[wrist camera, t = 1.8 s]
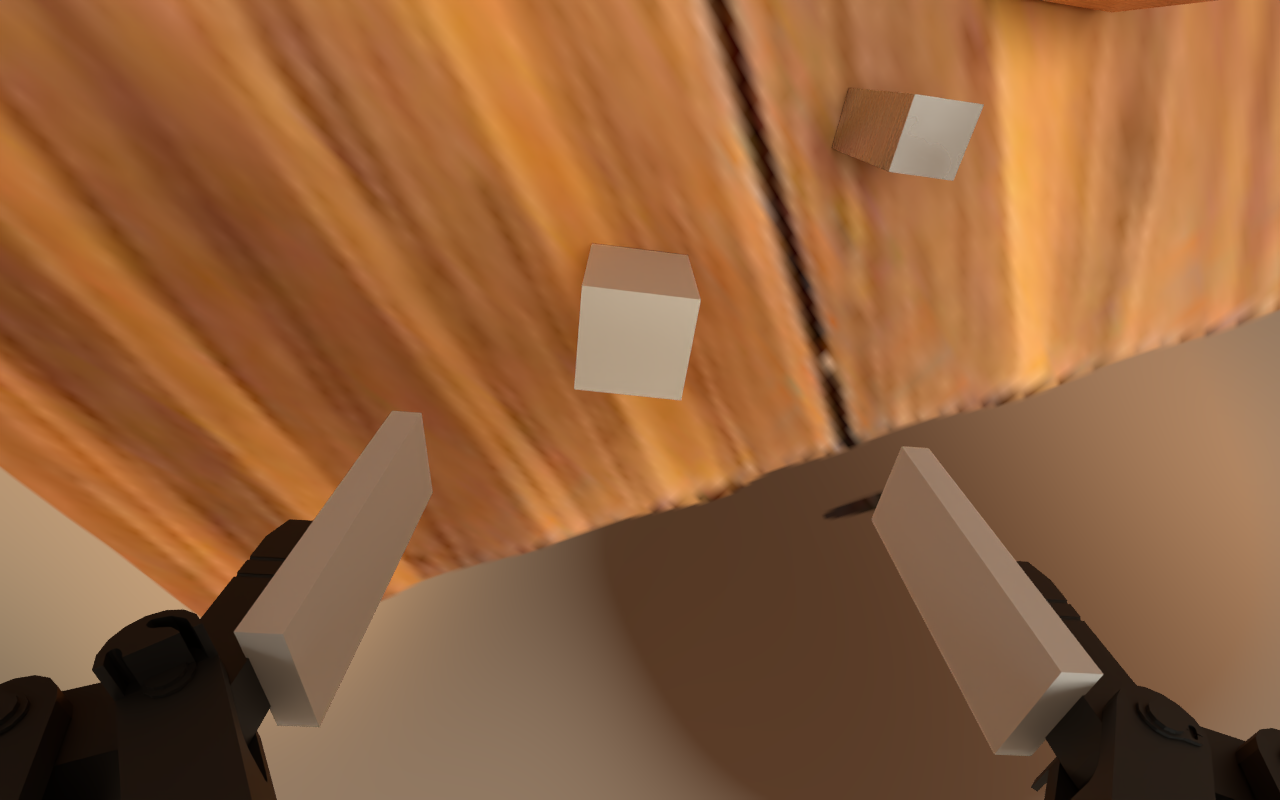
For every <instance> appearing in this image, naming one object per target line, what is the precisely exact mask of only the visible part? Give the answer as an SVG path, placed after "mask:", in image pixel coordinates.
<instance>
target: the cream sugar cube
mask: <svg viewBox="0 0 1280 800" xmlns="http://www.w3.org/2000/svg"><path fill="white" fill-rule="evenodd" d="M700 301H701V299H700V295H699V292H698V288H697V285H696V281H695V278H694V274H693V271H692V267H691V264H690V261H689V257H688V255H682V254H674V253H666V252H658V251H650V250H642V249H634V248H626V247H618V246H610V245H602V244H594V243H592V245H591V249H590V254H589V258H588V262H587V266H586V271H585V275H584V279H583V283H582V291H581V305H580V318H579V331H578V345H577V358H576V371H575V385H574V389H577V390H587V391H596V392H606V393H615V394H625V395H635V396H644V397H654V398H663V399H673V400H681V398H682V393H683V388H684V383H685V378H686V373H687V368H688V363H689V357H690V352H691V347H692V342H693V337H694V332H695V327H696V322H697V317H698V311H699V306H700Z"/></svg>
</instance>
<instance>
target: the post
mask: <svg viewBox="0 0 1280 800" xmlns="http://www.w3.org/2000/svg"><path fill="white" fill-rule="evenodd" d="M983 106H984V105H983V104H977V103H970V102H964V101H957V100H950V99H944V98H937V97H931V96H924V95H917V94H908V93H898V92H888V91H877V90H867V89H856V88H849V89H848V93H847V96H846V100H845V103H844V107H843V110H842V114H841V117H840V121H839V124H838V128H837V131H836V135H835V138H834V142H833V145H832V149H835V150H837V151H840V152H842V153H844V154H847V155H849V156H852V157H854V158H857V159H859V160H862V161H864V162H866V163H869V164H871V165H874V166H876V167H879V168H881V169H883V170H886V171H888V172H895V173H902V174H909V175H916V176H923V177H931V178H938V179H945V180H952V181H953V180H954V178H955V175H956V173H957V170H958V168H959V165H960V163H961V160H962V158H963V155H964V153H965V150H966V148H967V145H968V143H969V140H970V138H971V135H972V133H973V130H974V128H975V125H976V123H977V120H978V118H979V115H980V113H981V111H982V108H983Z"/></svg>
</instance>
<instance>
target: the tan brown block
mask: <svg viewBox="0 0 1280 800" xmlns="http://www.w3.org/2000/svg"><path fill="white" fill-rule="evenodd" d="M1042 1H1048V2H1054V3H1060V4H1066V5H1072V6H1078V7H1084V8H1089V9H1095V10H1101V11H1107V12H1119V11H1128V10H1137V9H1146V8H1154V7H1163V6H1172V5H1181V4H1189V3H1198V2H1207V1H1216V0H1042Z"/></svg>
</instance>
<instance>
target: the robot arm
mask: <svg viewBox="0 0 1280 800" xmlns="http://www.w3.org/2000/svg"><path fill="white" fill-rule="evenodd" d="M432 493H433V491H432V484H431V477H430V470H429V463H428V455H427V448H426V441H425V434H424V427H423V420H422V413H417V412H402V411H392V412H391V413H390V414H389V416H388V417H387V419H386V420H385V421H384V423H383V424H382V426H381V427H380V428H379V430H378V431H377V433H376V434H375V435H374V437H373V438H372V440H371V441H370V442H369V444H368V445H367V447H366V448H365V449H364V451H363V452H362V453H361V455H360V456H359V458H358V459H357V460H356V462H355V463H354V465H353V466H352V467H351V469H350V470H349V472H348V473H347V474H346V476H345V477H344V479H343V480H342V481H341V483H340V484H339V486H338V487H337V488H336V490H335V491H334V493H333V494H332V495H331V497H330V498H329V500H328V501H327V502H326V504H325V505H324V507H323V508H322V509H321V511H320V512H319V514H318V515H317V516H316V518H315V519H314V521H308V520H291V519H290V520H288V521H287V522H285V523H284V524H282V525H281V526H280V527H278V528H277V529H275V530H274V531H273V532H271V533H270V534H268V535H267V536H266V537H265V538H264V539H263V541H262V542H261V543H260V545H259V546H258V547H257V548H256V550H255V551H254V552H253V553H252V555H251V556H250V560H247V561H246V562H245V563H244V565H243V566H242V567H241V568H240V570H239V571H238V572H237V576H236V577H233V579H232V580H231V581H230V582H229V584H228V585H227V586H226V587H225V589H224V590H223V591H222V592H221V594H220V595H219V596H218V597H217V599H216V600H215V601H214V602H213V604H212V605H211V606H210V607H209V609H208V610H207V611H206V613H205V614H204V615H203V616H202V618H201V619H199V617H198V616H197V614H195V613H192V612H189V611H186V610H166V611H162V612H159V613H155V614H152V615H148V616H145V617H143V618H141V619H139V620H137V621H135V622H133V623H132V624H130V625H128V626H126V627H124V628H123V629H122V630H121V631H119V632H118V633H117V634H115V635H114V636H113V637H112V638H110V639H109V640H108V641H107V642H106V644H105V645H104V646H103V647H102V649H101V650H100V651H99V653H98V654H97V655H96V658H95V661H94V665H93V668H92V671H93V672H94V673H95V675H96V676H97V678H98V679H99V680H100V681H101V683H98V684H92V685H89V686H84V687H79V688H75V689H70V690H66V691H61V690H60V689H59V687H58V686H57V685H56V684H55V683H54V682H53V681H52V680H51V678H48V677H41V676H36V675H34V676H28V677H21V678H15V679H12V680H10V681H7V682H5V683H2V684H0V800H277V799H276V795H275V791H274V787H273V784H272V779H271V776H270V772H269V768H268V764H267V760H266V757H265V753H264V749H263V745H262V741H261V738H260V736H259V734H258V732H257V729H258V728H259V726H260V724H261V723H262V721H263V719H264V717H265V716H266V714H267V712H268V710H269V709H270V711H271V713H272V715H273V717H274V719H275V721H276V723H277V725H278V726H279V725H280V726H302V727H320V725H321V723H322V721H323V719H324V717H325V715H326V712H327V711H328V709H329V707H330V704H331V702H332V700H333V698H334V696H335V694H336V692H337V690H338V688H339V686H340V683H341V682H342V680H343V677H344V675H345V673H346V671H347V669H348V667H349V665H350V663H351V661H352V659H353V657H354V655H355V652H356V650H357V648H358V646H359V644H360V642H361V640H362V638H363V636H364V634H365V632H366V630H367V628H368V625H369V623H370V621H371V619H372V617H373V615H374V613H375V611H376V609H377V607H378V605H379V603H380V601H381V599H382V597H383V594H384V592H385V590H386V588H387V586H388V584H389V582H390V580H391V578H392V576H393V574H394V572H395V570H396V567H397V565H398V563H399V561H400V559H401V557H402V555H403V553H404V551H405V549H406V547H407V545H408V543H409V540H410V538H411V536H412V534H413V532H414V530H415V528H416V526H417V524H418V522H419V520H420V518H421V516H422V513H423V511H424V509H425V507H426V505H427V503H428V501H429V499H430V497H431V495H432ZM872 522H873V524H874V525H875V528H876V530H877V531H878V533H879V535H880V537H881V539H882V541H883V543H884V545H885V547H886V549H887V551H888V552H889V554H890V556H891V558H892V560H893V562H894V564H895V566H896V568H897V570H898V572H899V574H900V575H901V577H902V579H903V581H904V583H905V585H906V587H907V589H908V591H909V593H910V595H911V596H912V598H913V600H914V602H915V604H916V606H917V608H918V610H919V611H920V613H921V616H922V617H923V619H924V621H925V623H926V625H927V627H928V629H929V631H930V633H931V635H932V636H933V638H934V640H935V642H936V644H937V646H938V648H939V650H940V652H941V654H942V656H943V658H944V659H945V661H946V663H947V665H948V667H949V669H950V671H951V673H952V675H953V677H954V679H955V680H956V682H957V684H958V686H959V688H960V690H961V692H962V694H963V696H964V697H965V699H966V701H967V703H968V705H969V707H970V709H971V711H972V713H973V715H974V717H975V718H976V720H977V722H978V724H979V726H980V728H981V730H982V732H983V734H984V736H985V738H986V739H987V741H988V743H989V745H990V747H991V749H992V751H993V753H994V754H998V755H1021V756H1022V755H1023V756H1031V755H1032V754H1033V753H1034V752H1035V751H1036V750H1037V749H1038V748H1039V746H1040V745H1041V744H1042V743H1043V742H1044V741H1045V740H1047V741H1048V743H1049V745H1050V746H1051V748H1052V750H1053V751H1054V753H1055V755H1056V756H1057V757H1056V758H1055V759H1054V760H1053V761H1052V762H1051V763H1050V764H1049V765H1048V766H1047V768H1046V769H1045V770H1044V771H1043V772H1042V773H1041V774H1040V775H1039V776H1038V777H1037V778H1036V779H1035V781H1034V783H1033V785H1032V787H1031V788H1033V789H1035V790H1036V791H1038V790H1039V789H1040V788H1041V787H1042V786H1043V785H1044V784H1046V783H1047V785H1046V792H1045V799H1044V800H1280V730H1277V729H1273V728H1270V729H1261V730H1259V731H1258V732H1257V733H1255V734H1254V735H1253V736H1252V737H1251V738H1249V739H1248V740H1247V741H1243V740H1240V739H1237V738H1234V737H1231V736H1228V735H1225V734H1222V733H1219V732H1215V731H1212V730H1210V729H1206V728H1203V727H1200V726H1199V725H1198V723H1197V722H1196V721H1195V719H1194V718H1193V717H1191V716H1190V715H1189V714H1188V713H1187V712H1186V711H1185V710H1184V709H1182V708H1181V707H1180V706H1179V705H1178V704H1176V703H1175V702H1173V701H1172V700H1170V699H1168V698H1167V697H1165V696H1164V695H1162V694H1160V693H1158V692H1155V691H1153V690H1151V689H1148V688H1146V687H1141V686H1137V685H1136V684H1135V683H1134V682H1133V681H1132V679H1131V678H1130V677H1129V676H1128V675H1127V674H1126V672H1125V671H1124V670H1123V668H1122V667H1121V666H1120V665H1119V664H1118V662H1117V661H1116V660H1115V659H1114V658H1113V656H1112V655H1111V654H1110V652H1109V651H1108V650H1107V649H1106V647H1105V646H1104V645H1103V644H1102V643H1101V641H1100V640H1099V639H1098V638H1097V636H1096V635H1095V634H1094V633H1093V632H1092V630H1091V629H1090V628H1089V627H1088V626H1087V624H1086V623H1085V622H1084V621H1081V620H1080V616H1079V614H1078V613H1077V612H1076V611H1075V609H1074V608H1073V607H1072V606H1071V605H1070V604H1067V600H1066V598H1065V597H1064V596H1063V595H1062V593H1061V592H1060V591H1059V590H1058V589H1057V587H1056V586H1055V585H1054V584H1053V582H1052V581H1051V580H1050V579H1048V578H1047V577H1046V576H1045V575H1044V574H1042V573H1041V572H1040V571H1039V570H1037V569H1036V568H1035V567H1034V566H1032V565H1031V564H1030V563H1029V562H1021V561H1015V559H1014V558H1013V557H1012V555H1011V554H1010V553H1009V552H1008V550H1007V549H1006V548H1005V546H1004V545H1003V544H1002V543H1001V541H1000V540H999V539H998V537H997V536H996V535H995V533H994V532H993V531H992V530H991V529H990V527H989V526H988V524H987V523H986V522H985V521H984V519H983V518H982V517H981V515H980V514H979V513H978V512H977V510H976V509H975V508H974V506H973V505H972V504H971V503H970V501H969V500H968V499H967V497H966V496H965V495H964V493H963V492H962V491H961V490H960V488H959V487H958V486H957V484H956V483H955V482H954V481H953V479H952V478H951V477H950V475H949V474H948V473H947V472H946V470H945V469H944V468H943V466H942V465H941V464H940V462H939V461H938V460H937V459H936V458H935V456H934V455H933V453H932V452H931V451H930V450H929V449H928V448H917V447H903V446H902V447H901V449H900V452H899V454H898V457H897V459H896V462H895V464H894V466H893V469H892V471H891V474H890V476H889V478H888V481H887V483H886V486H885V488H884V490H883V493H882V495H881V498H880V500H879V502H878V505H877V507H876V510H875V512H874V514H873V517H872Z"/></svg>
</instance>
